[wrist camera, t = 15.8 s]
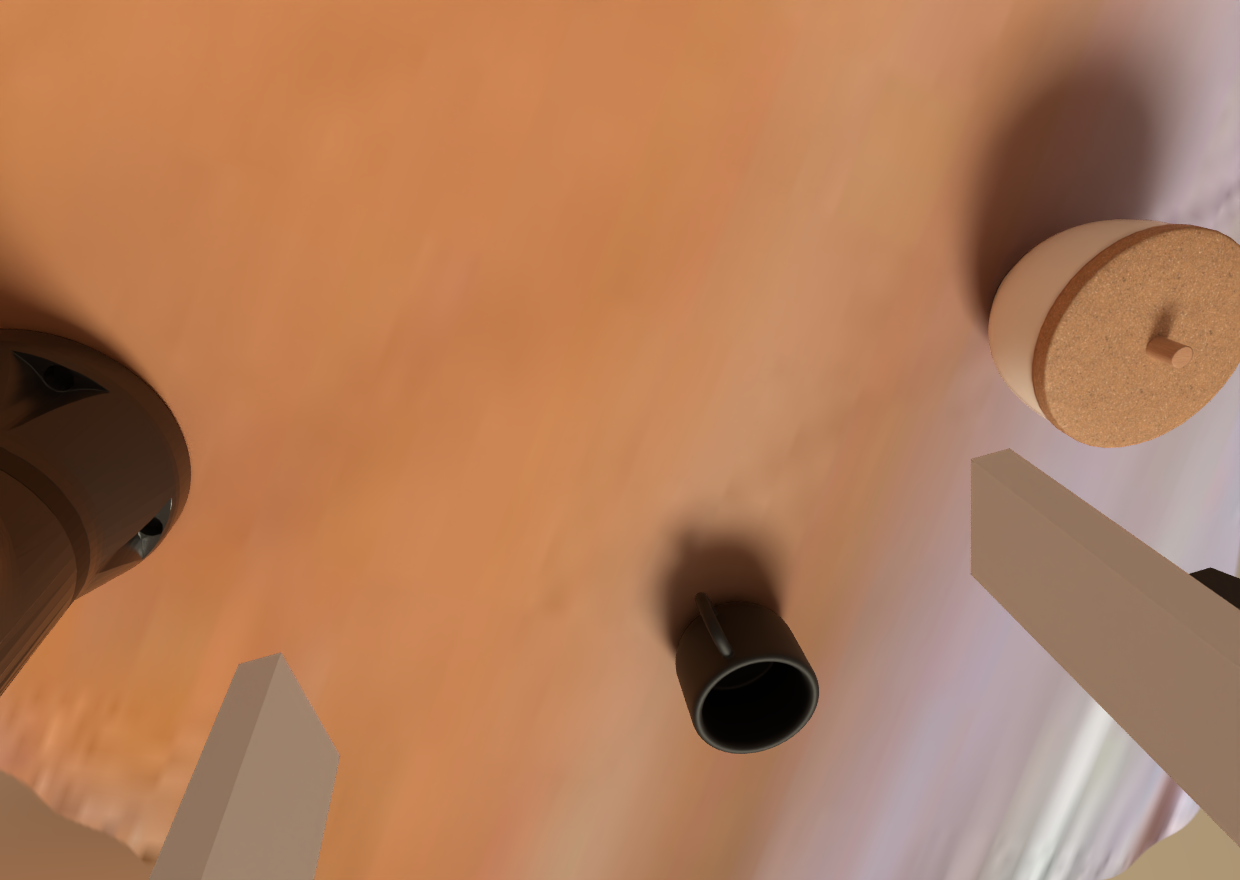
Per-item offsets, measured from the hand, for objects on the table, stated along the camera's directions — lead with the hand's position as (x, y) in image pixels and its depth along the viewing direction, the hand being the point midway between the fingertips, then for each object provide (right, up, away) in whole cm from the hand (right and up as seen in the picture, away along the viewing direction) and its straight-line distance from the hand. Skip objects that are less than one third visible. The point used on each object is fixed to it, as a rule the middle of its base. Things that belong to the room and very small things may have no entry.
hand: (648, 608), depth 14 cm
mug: (+7, -11, +42) cm, 44 cm away
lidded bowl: (+27, +12, +35) cm, 46 cm away
